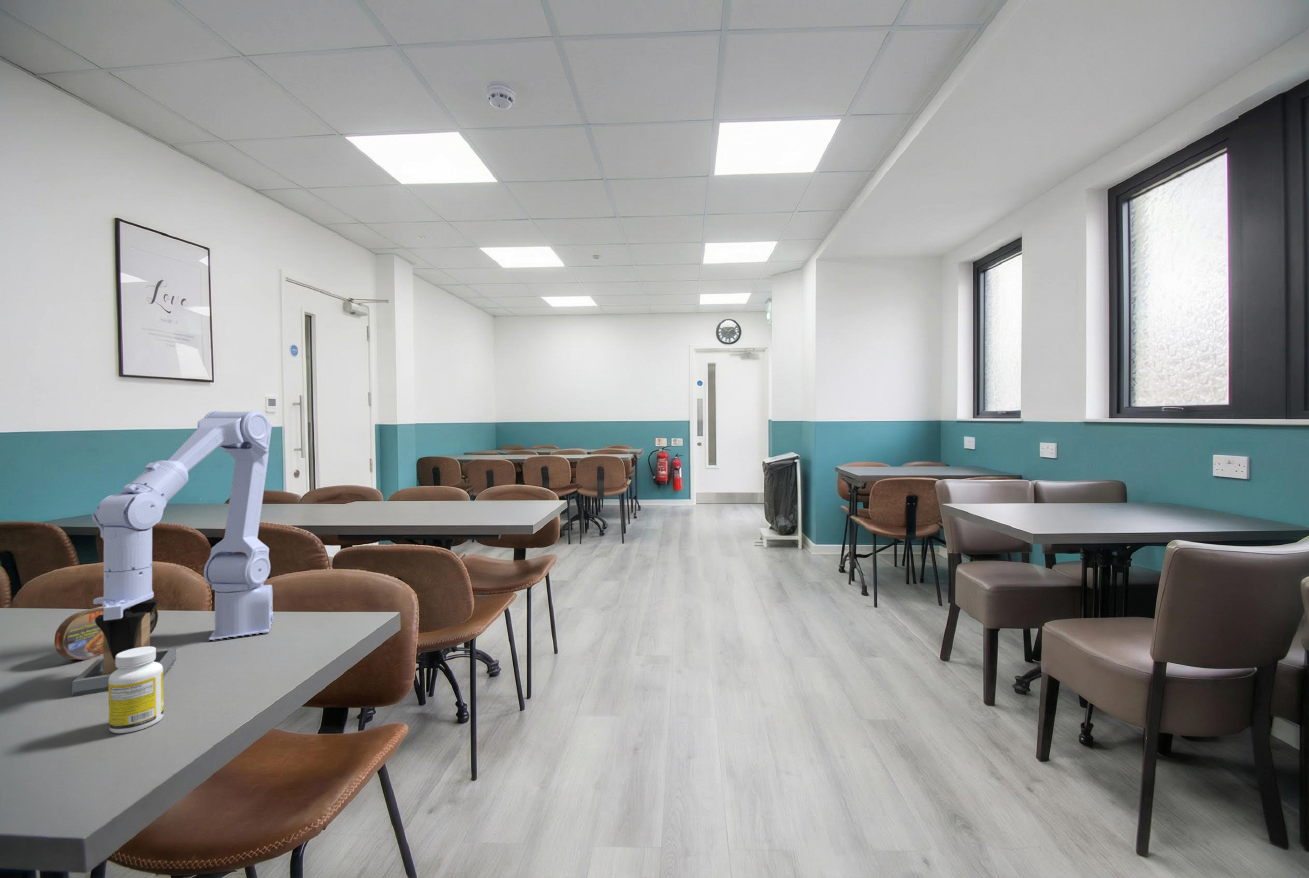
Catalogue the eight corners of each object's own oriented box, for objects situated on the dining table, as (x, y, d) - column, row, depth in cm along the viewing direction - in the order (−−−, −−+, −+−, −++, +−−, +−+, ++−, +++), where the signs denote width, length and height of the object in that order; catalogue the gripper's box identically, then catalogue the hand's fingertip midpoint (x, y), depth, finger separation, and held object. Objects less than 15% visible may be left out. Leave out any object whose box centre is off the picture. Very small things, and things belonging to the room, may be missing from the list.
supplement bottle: (132, 715, 78) (132, 644, 78) (173, 713, 78) (173, 643, 78) (96, 735, 72) (96, 659, 72) (141, 733, 73) (141, 658, 73)
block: (149, 660, 93) (150, 612, 93) (141, 670, 89) (141, 619, 89) (113, 665, 91) (113, 616, 91) (103, 675, 87) (103, 624, 87)
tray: (176, 660, 97) (176, 647, 97) (159, 682, 88) (159, 668, 88) (97, 672, 92) (97, 658, 92) (72, 696, 83) (72, 681, 83)
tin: (64, 667, 94) (64, 617, 94) (50, 666, 95) (50, 616, 95) (159, 636, 109) (159, 593, 109) (146, 635, 110) (146, 592, 110)
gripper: (111, 562, 95) (111, 642, 95) (75, 580, 82) (75, 673, 82) (165, 557, 98) (165, 635, 98) (139, 575, 85) (138, 664, 85)
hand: (128, 652), depth 90 cm, fingers closed on block, 4 cm apart
